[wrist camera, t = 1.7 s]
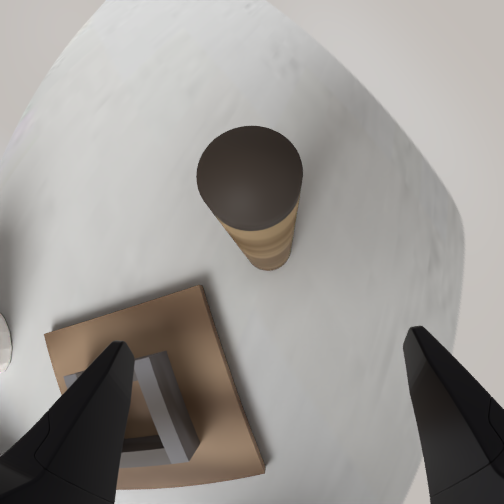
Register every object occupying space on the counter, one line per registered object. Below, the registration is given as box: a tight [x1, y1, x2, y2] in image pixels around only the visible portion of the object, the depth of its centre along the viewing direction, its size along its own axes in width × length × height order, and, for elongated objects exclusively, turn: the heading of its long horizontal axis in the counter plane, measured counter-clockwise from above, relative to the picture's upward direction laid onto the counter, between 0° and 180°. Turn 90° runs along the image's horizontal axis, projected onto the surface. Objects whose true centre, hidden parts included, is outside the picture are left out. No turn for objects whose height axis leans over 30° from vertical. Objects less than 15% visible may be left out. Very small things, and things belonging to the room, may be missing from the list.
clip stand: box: [44, 285, 266, 490], centre depth 19 cm, size 14×14×4 cm
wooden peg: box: [196, 126, 303, 271], centre depth 15 cm, size 3×3×13 cm
